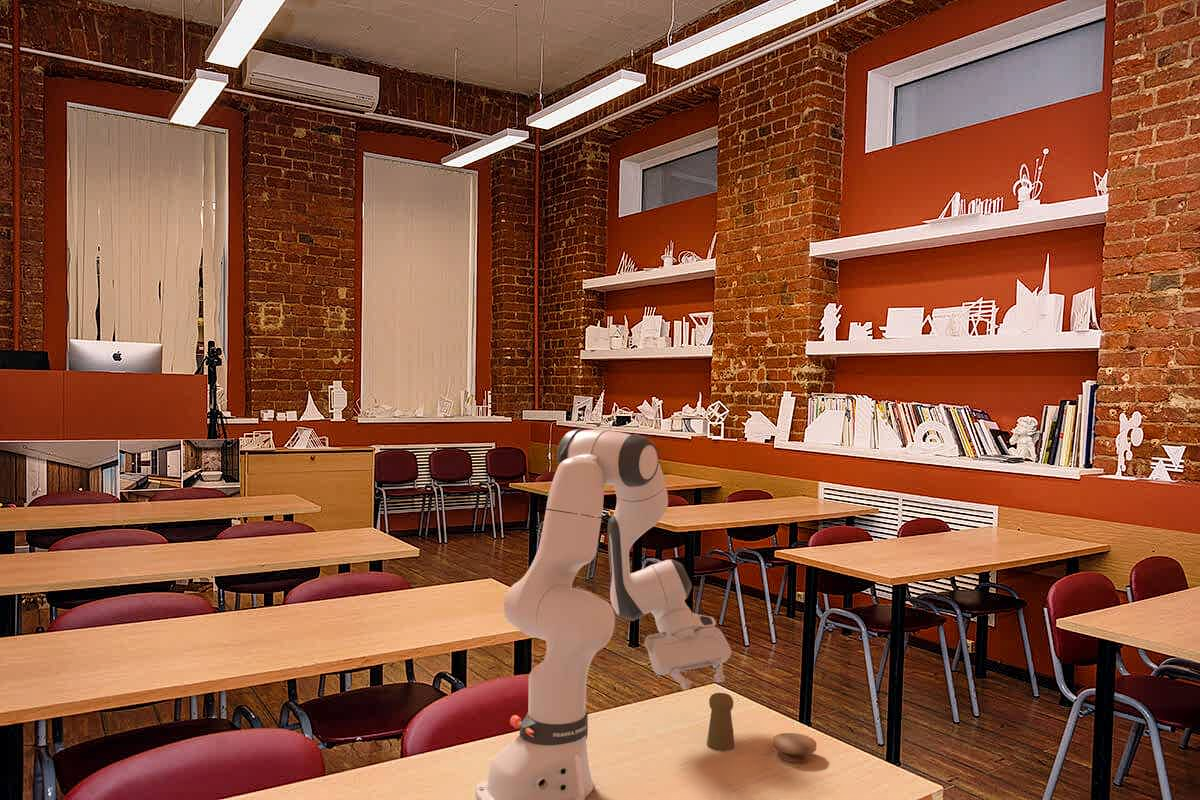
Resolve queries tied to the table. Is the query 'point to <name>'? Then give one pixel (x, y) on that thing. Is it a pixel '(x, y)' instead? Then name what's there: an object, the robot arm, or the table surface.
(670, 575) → the robot arm
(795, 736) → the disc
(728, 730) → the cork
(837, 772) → the table surface
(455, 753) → the table surface
